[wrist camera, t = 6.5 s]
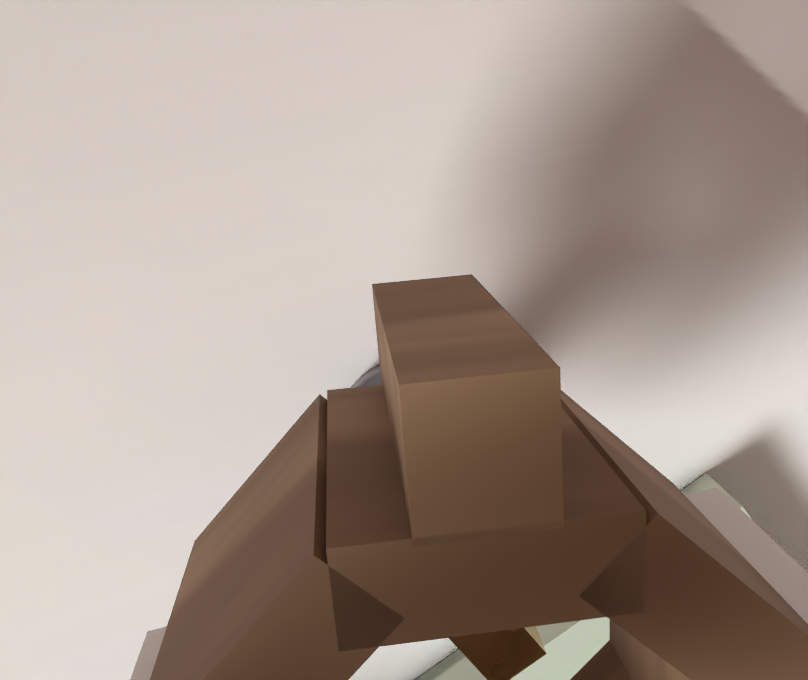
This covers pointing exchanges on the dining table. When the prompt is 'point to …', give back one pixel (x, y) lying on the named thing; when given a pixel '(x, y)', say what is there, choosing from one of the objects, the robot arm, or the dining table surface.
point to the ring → (465, 525)
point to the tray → (557, 636)
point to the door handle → (492, 650)
